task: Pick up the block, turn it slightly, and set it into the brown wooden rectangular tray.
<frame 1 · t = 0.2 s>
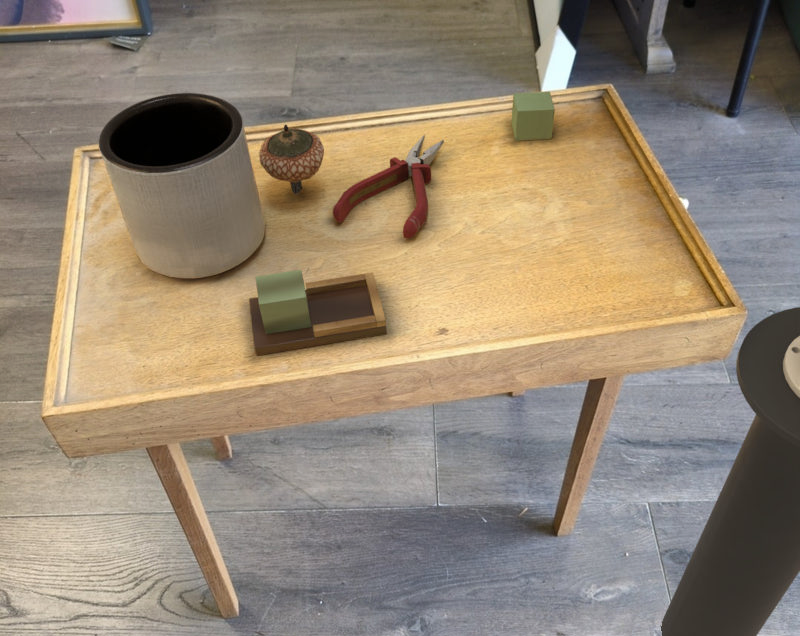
acorn: (298, 193, 109), on the table
brown wooden rectangular tray: (317, 319, 93), on the table
planter: (202, 242, 103), on the table
block: (531, 130, 116), on the table
pliers: (410, 196, 107), on the table
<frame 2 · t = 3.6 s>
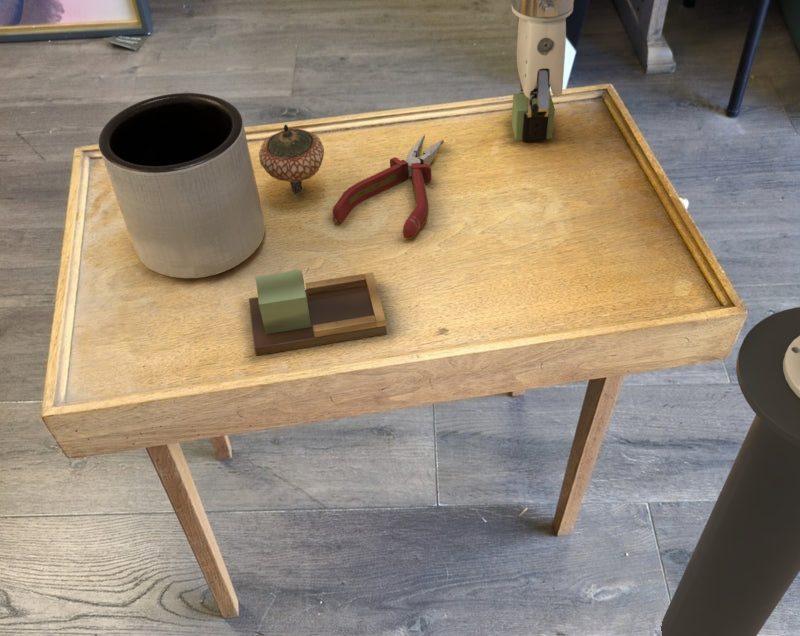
hand: (531, 128, 115), 0 cm above the table, tool pointing down, fingers closed on block, 4 cm apart
block: (531, 130, 116), on the table, touching gripper
everything else where it was.
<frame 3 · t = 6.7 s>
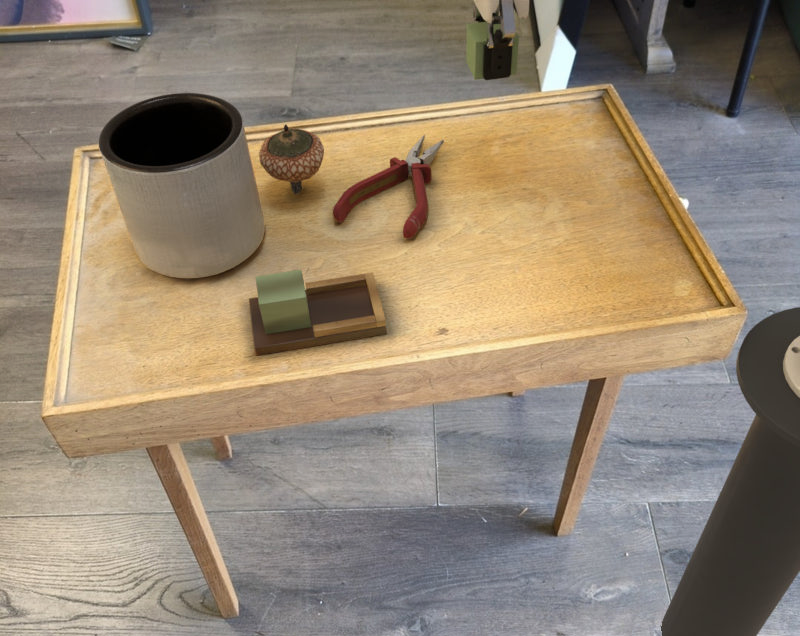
hand: (491, 64, 98), 15 cm above the table, tool pointing down, fingers closed on block, 4 cm apart
block: (490, 67, 98), point 15 cm above the table, touching gripper
everything else where it was.
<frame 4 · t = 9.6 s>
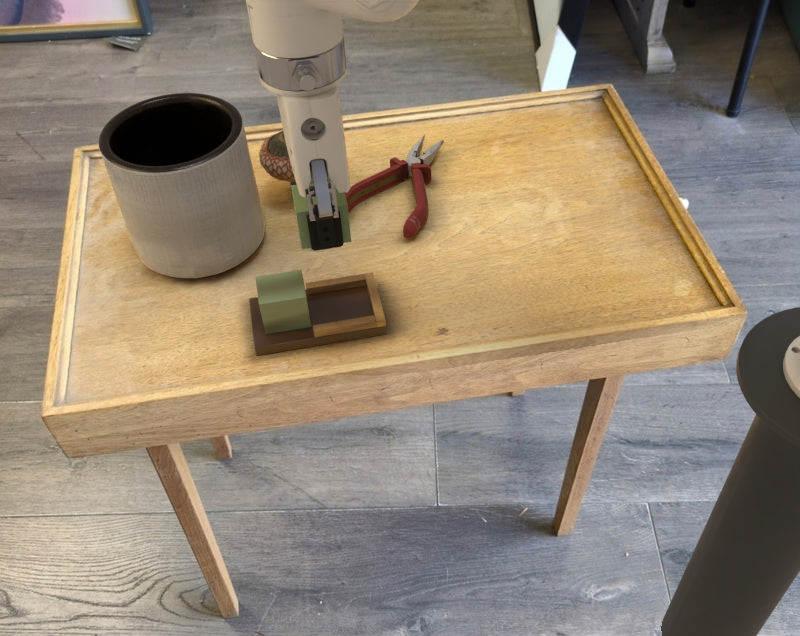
hand: (323, 228, 84), 12 cm above the table, tool pointing down, fingers closed on block, 4 cm apart
block: (323, 231, 84), point 12 cm above the table, touching gripper
everything else where it was.
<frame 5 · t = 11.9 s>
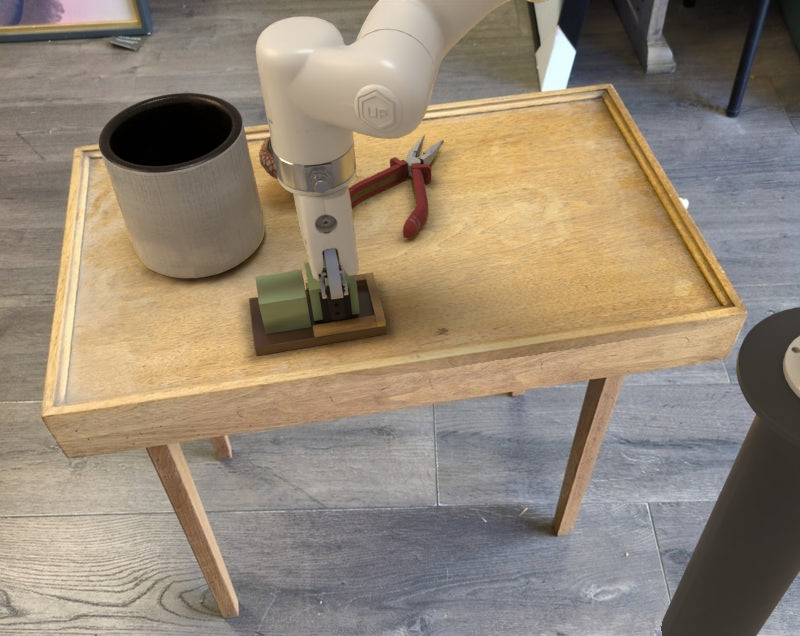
hand: (334, 301, 92), 2 cm above the table, tool pointing down, fingers closed on block, 4 cm apart
block: (334, 303, 92), point 2 cm above the table, touching gripper
everything else where it was.
when the fingers open (3 cm above the table, at t = 15.8 s): block drops 1 cm, resting on brown wooden rectangular tray.
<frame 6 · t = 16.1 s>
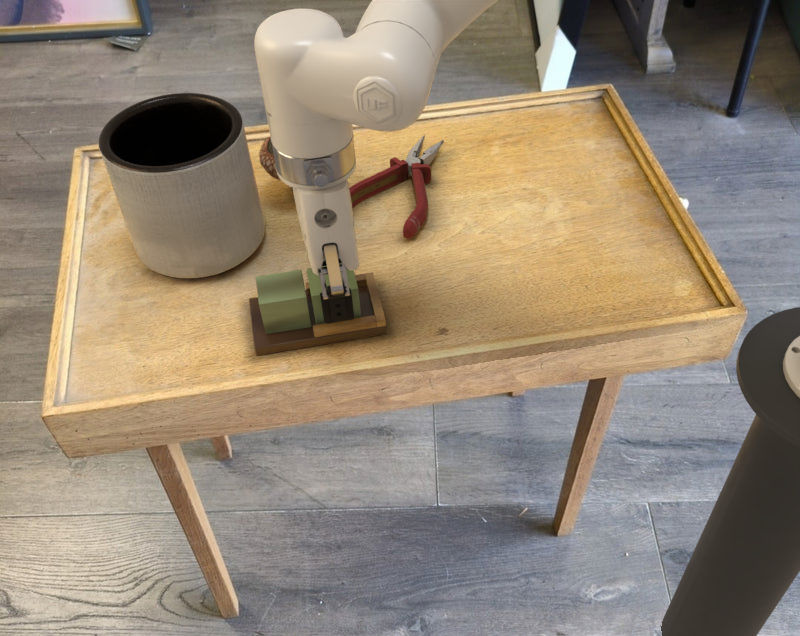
hand: (333, 293, 91), 4 cm above the table, tool pointing down, fingers open, 7 cm apart
block: (336, 309, 93), point 1 cm above the table, touching brown wooden rectangular tray
everything else where it was.
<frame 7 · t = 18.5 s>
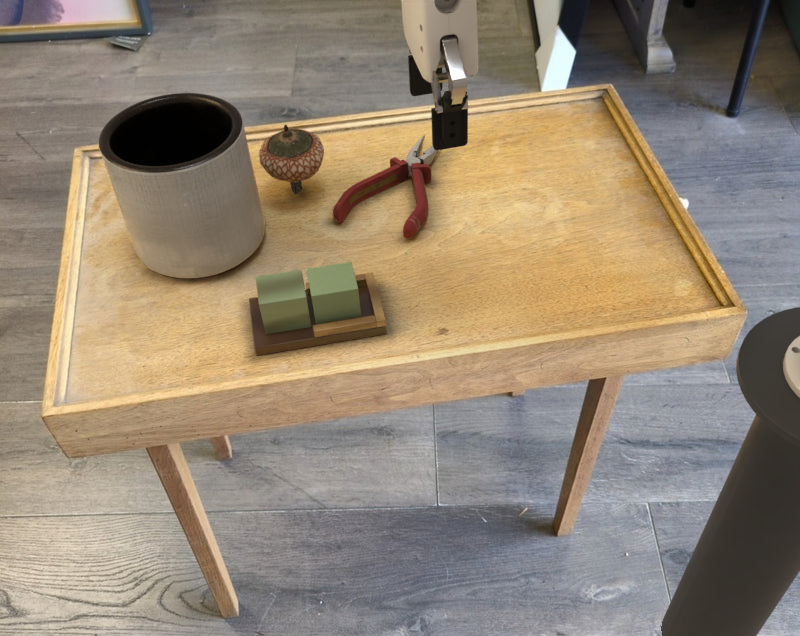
hand: (437, 118, 80), 21 cm above the table, tool pointing down, fingers open, 9 cm apart
nothing on the table moved.
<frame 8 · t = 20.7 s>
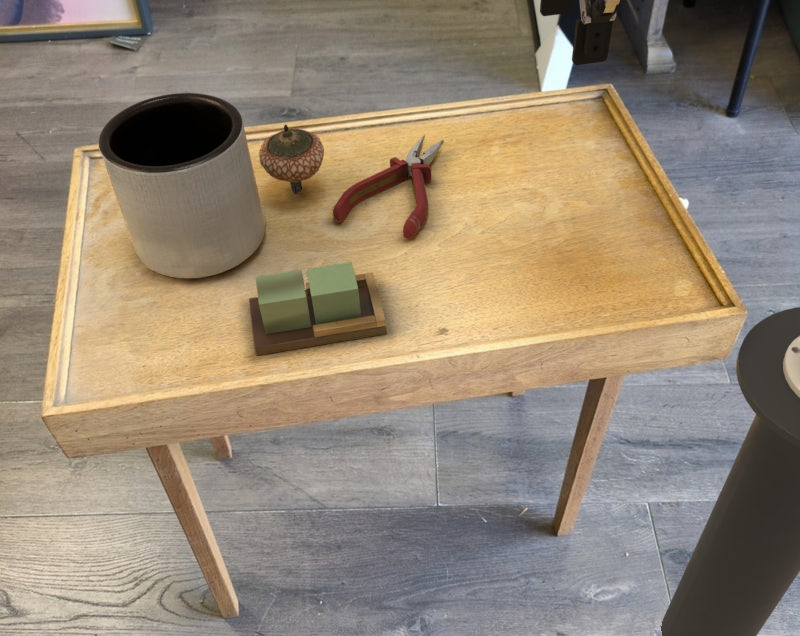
hand: (571, 36, 79), 26 cm above the table, tool pointing down, fingers open, 9 cm apart
nothing on the table moved.
at the end: block 0.1 cm from the target spot on the brown wooden rectangular tray, point 1.2 cm above the brown wooden rectangular tray's base; block tilted 0°; the gripper is holding nothing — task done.
